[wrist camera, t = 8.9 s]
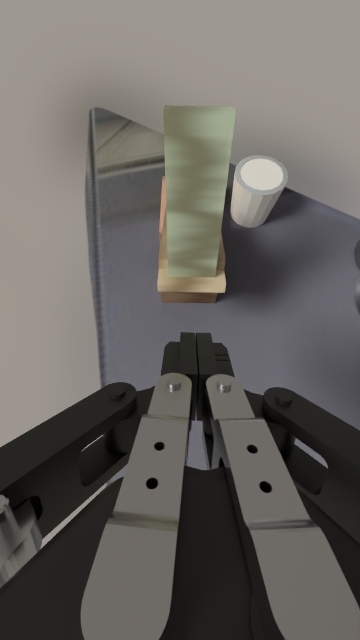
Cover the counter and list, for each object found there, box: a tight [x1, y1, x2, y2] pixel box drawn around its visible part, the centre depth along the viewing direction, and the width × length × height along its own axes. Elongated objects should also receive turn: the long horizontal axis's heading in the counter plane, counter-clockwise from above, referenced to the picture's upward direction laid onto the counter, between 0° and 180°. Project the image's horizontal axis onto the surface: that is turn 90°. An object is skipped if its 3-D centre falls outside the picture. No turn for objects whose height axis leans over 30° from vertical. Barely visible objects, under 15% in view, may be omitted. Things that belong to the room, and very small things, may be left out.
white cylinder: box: [230, 155, 288, 228], centre depth 38 cm, size 7×7×7 cm
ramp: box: [157, 106, 236, 293], centre depth 25 cm, size 6×14×13 cm, turn 179°
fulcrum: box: [158, 242, 218, 303], centre depth 33 cm, size 7×4×8 cm, turn 89°
